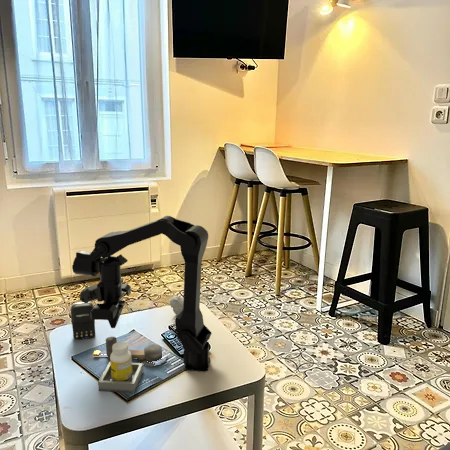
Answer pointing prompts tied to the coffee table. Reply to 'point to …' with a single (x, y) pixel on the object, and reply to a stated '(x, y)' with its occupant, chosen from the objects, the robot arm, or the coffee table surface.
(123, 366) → the supplement bottle
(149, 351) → the crank
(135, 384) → the tray
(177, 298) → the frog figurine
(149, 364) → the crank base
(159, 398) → the coffee table surface
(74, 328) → the battery charger
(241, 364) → the coffee table surface
